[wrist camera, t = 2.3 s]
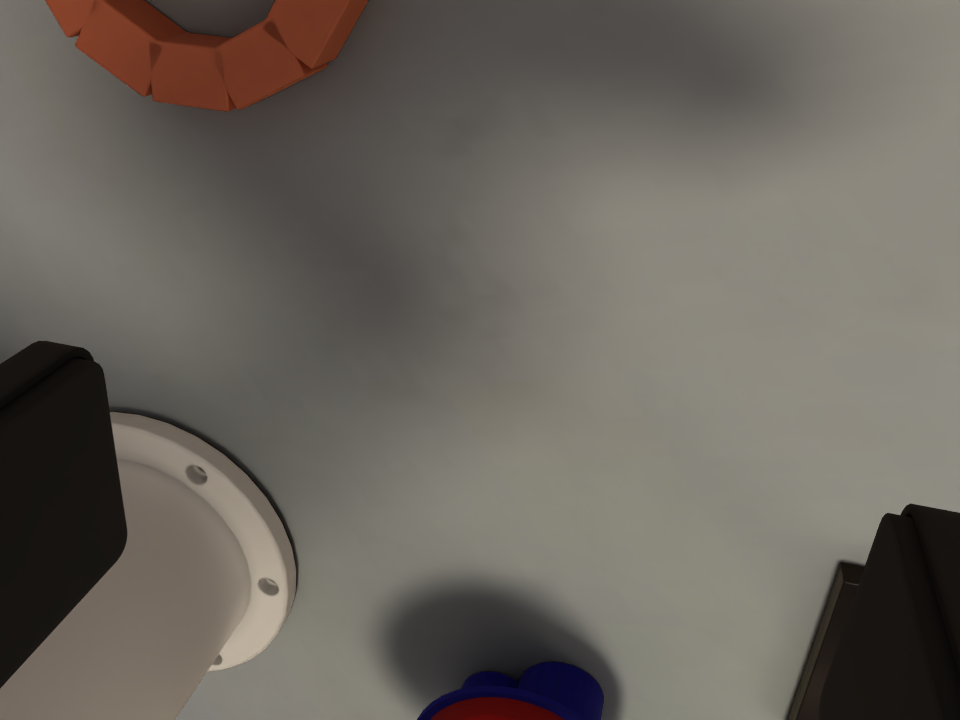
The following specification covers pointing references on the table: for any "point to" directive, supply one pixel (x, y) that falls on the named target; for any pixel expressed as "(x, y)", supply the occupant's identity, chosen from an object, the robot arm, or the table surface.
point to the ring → (208, 49)
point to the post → (826, 643)
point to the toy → (523, 696)
